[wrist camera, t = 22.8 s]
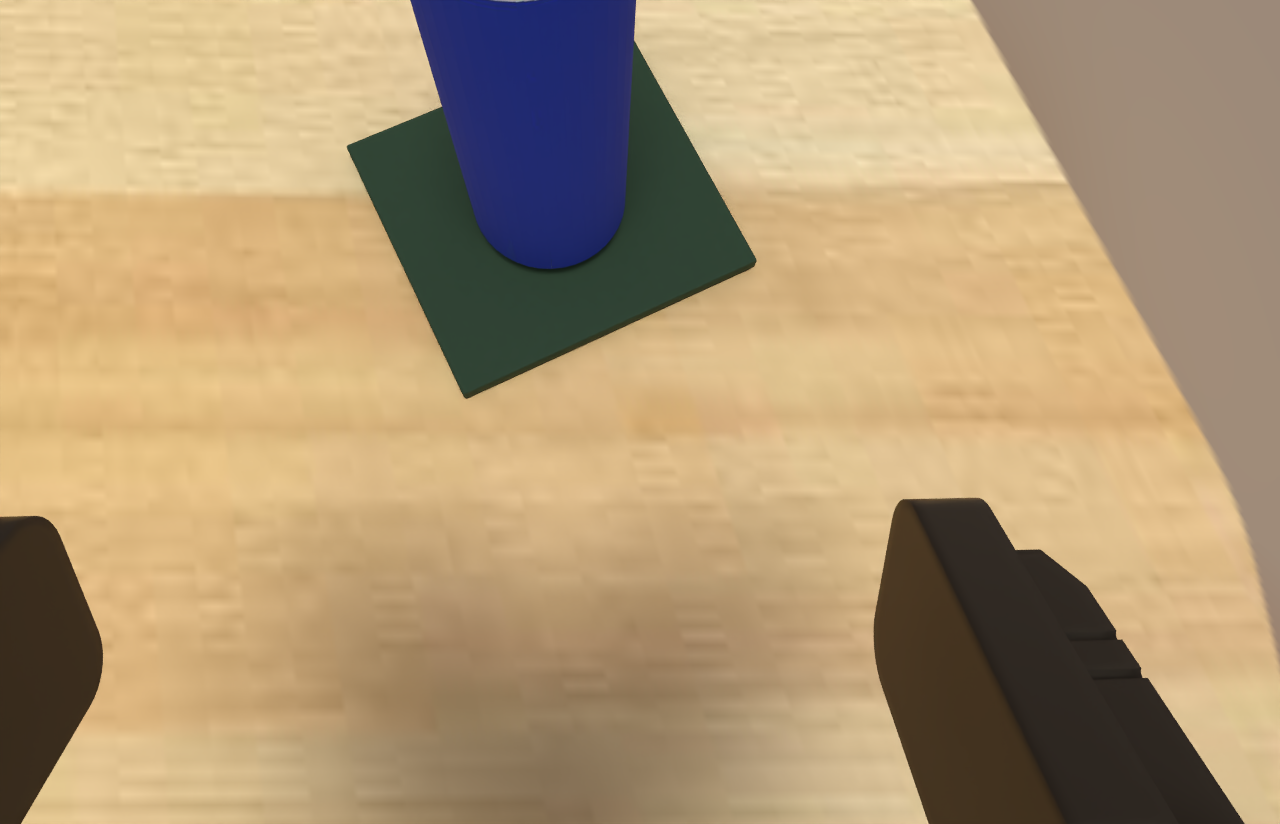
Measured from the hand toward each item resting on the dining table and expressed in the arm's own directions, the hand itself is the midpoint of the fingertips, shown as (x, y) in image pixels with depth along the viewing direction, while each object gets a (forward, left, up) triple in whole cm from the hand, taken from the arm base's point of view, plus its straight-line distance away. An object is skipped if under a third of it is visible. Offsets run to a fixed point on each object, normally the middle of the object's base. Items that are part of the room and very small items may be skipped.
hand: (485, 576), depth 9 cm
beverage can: (-6, -13, -21) cm, 25 cm away
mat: (-6, -13, -21) cm, 25 cm away
